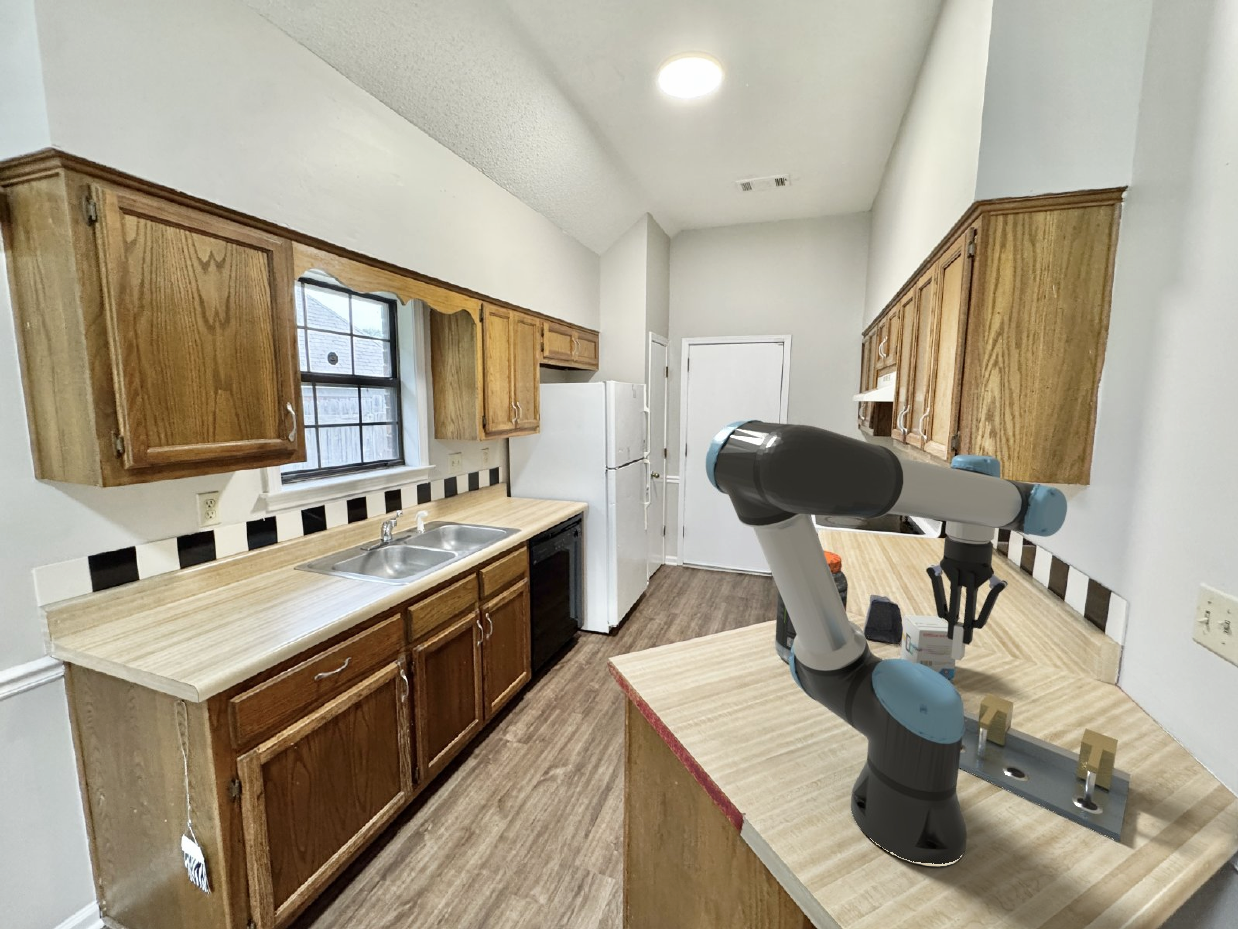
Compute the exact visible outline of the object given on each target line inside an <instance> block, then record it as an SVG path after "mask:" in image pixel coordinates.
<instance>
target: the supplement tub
mask: <svg viewBox="0 0 1238 929" xmlns="http://www.w3.org/2000/svg"><path fill="white" fill-rule="evenodd" d="M823 551H824V554H825V557H826V559H827V562H828V565H829V568H830V570H831V573H832V576H833V579H834V581H835V584H836V587H837V589H838V592H839V595H840V598H841V600H842V603H843V606H844V609H845V611H846V612H847V602H848V588H849V586H848V585H849V584H848V579H847V577H846V575H845V574H844V572H843V571H842V566H843V565H842V557H841V556H840V555H838V554H836V553H834V552H831V551H828V550H824V549H823ZM776 602H777V603H776V623H775V640H774V642H775V644H774V645H775V647H774V648H775V650H776V653H777V655H778V656H779V657H780V658H781V659H782V660H784V661H786V662H787V663H788V664H789V658H790V657H791V656H792V653H791V648H792V646H793V643H794V639H795V637H796V635H797V634H796V631H795V629H794V626H793V624H792V621H791V619H790V616H789V614H788V612H787V609H786V607H785V604H784V602H783V599H782V597H781V594H780V592H779V589H778V588H777V601H776Z"/></svg>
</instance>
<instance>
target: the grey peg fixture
mask: <svg viewBox="0 0 1238 929" xmlns="http://www.w3.org/2000/svg"><path fill="white" fill-rule="evenodd" d="M978 722H979V714H977V713H975V712H972V711H969V710H968V709H964V724H965V725H964V727H965V729H964V733H963V736H962V744H961V752H960V761H959V768H961V769H960V770H962V769H963V770H962V771H964V770H965V771H964V772H966V771H968V772H970V773H973V774H975V775H977V776H978V777H977V776H976V777H977V778H979V777H981V778H983V779H985V780H988V781H989V782H988V783H990V782H992V783H993V784H992V783H991V784H992V785H994V784H996V785H998V786H1000V787H1003V788H1004V789H1003V788H1002V789H1003V790H1005V789H1006V790H1005V791H1007V790H1009V791H1011V792H1013V793H1014V795H1015V794H1017V795H1016V796H1018V795H1019V796H1018V797H1020V796H1021V797H1020V798H1022V797H1024V798H1026V799H1027V801H1028V800H1029V802H1031V801H1033V802H1034V803H1033V802H1032V803H1033V804H1035V803H1037V804H1040V805H1041V806H1043V807H1045V808H1044V809H1046V808H1047V809H1046V810H1048V809H1049V811H1050V812H1052V811H1054V812H1056V813H1057V815H1059V814H1060V815H1059V816H1061V817H1063V818H1065V819H1067V818H1068V820H1069V821H1072V822H1074V823H1076V822H1077V823H1076V824H1078V825H1080V826H1082V825H1084V826H1085V827H1084V826H1083V827H1084V828H1087V827H1088V828H1087V829H1089V828H1090V829H1089V830H1091V829H1092V830H1091V831H1093V830H1094V831H1093V832H1095V831H1096V833H1097V832H1099V833H1098V834H1100V833H1101V834H1100V835H1102V834H1103V835H1102V836H1104V835H1106V836H1108V837H1110V838H1113V839H1114V840H1113V841H1115V840H1116V841H1115V842H1117V841H1118V842H1117V843H1120V840H1121V839H1120V838H1121V832H1122V829H1121V828H1123V823H1124V815H1125V811H1126V805H1127V800H1128V793H1129V787H1130V780H1131V773H1129V772H1126V771H1123V770H1121V769H1119V768H1116V767H1115V762H1116V755H1117V750H1118V749H1117V748H1118V742H1119V740H1118V739H1116V738H1113V737H1110V736H1108V735H1104V734H1102V733H1099V732H1096V731H1094V730H1091V729H1088V728H1084V729H1085V730H1084V731H1083V732H1084V733H1083V734H1082V735H1083V736H1082V738H1081V743H1080V749H1079V753H1078V752H1075V751H1072V750H1070V749H1066V748H1065V747H1061V746H1059V745H1057V744H1054V743H1052V742H1049V741H1046V740H1045V739H1044V740H1043V739H1041V738H1038V737H1036V736H1034V735H1032V734H1028V733H1026V732H1023V731H1021V730H1018V729H1015V728H1013V727H1012V726H1011V727H1008V729H1007V731H1006V736H1005V743H1004V745H1000V744H998V743H995V742H993V741H991V740H988V739H986V746H985V755H984V756H979V755H978V744H979V735H977V731H978ZM968 772H967V773H968ZM970 773H969V774H970ZM975 775H974V776H975ZM981 778H980V779H981ZM983 779H982V780H983ZM985 780H984V781H985ZM996 785H995V786H996ZM998 786H997V787H998ZM1000 787H999V788H1000ZM1009 791H1008V792H1009ZM1011 792H1010V793H1011ZM1013 793H1012V794H1013ZM1024 798H1023V799H1024ZM1026 799H1025V800H1026ZM1037 804H1036V805H1037ZM1041 806H1040V807H1041ZM1043 807H1042V808H1043ZM1054 812H1053V813H1054ZM1056 813H1055V814H1056ZM1106 836H1105V837H1106ZM1108 837H1107V838H1108ZM1110 838H1109V839H1110Z"/></svg>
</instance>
